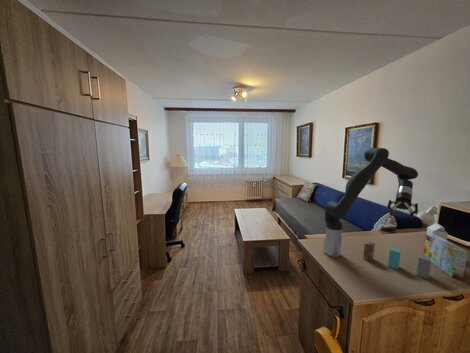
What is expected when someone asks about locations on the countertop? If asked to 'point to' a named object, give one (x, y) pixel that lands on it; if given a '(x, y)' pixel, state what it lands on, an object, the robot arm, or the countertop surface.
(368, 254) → the walnut block
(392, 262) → the teal block
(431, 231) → the milk carton
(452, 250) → the snack box
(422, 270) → the charcoal block
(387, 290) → the countertop surface
